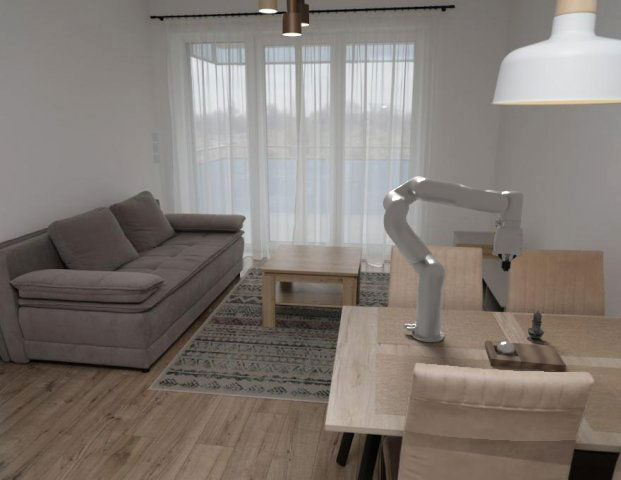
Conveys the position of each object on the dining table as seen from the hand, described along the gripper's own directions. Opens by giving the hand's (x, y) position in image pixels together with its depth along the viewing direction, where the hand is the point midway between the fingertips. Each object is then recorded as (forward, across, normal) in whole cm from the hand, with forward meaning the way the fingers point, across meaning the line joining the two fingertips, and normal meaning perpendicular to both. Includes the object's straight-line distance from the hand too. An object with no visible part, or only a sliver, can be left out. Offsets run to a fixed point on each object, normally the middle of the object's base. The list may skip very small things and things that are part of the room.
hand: (505, 270), depth 188 cm
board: (+27, +5, -19) cm, 33 cm away
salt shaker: (+27, +13, -1) cm, 30 cm away
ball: (+24, -1, -19) cm, 31 cm away
